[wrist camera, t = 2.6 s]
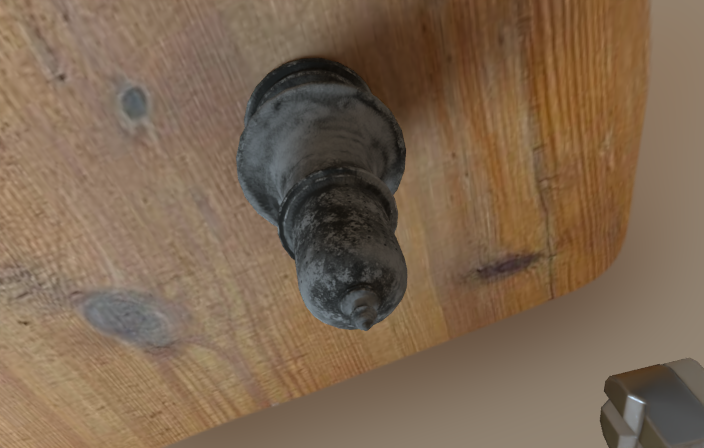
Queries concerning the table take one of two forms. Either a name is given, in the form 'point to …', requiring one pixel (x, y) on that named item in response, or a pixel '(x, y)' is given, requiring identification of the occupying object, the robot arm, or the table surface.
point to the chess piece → (328, 187)
